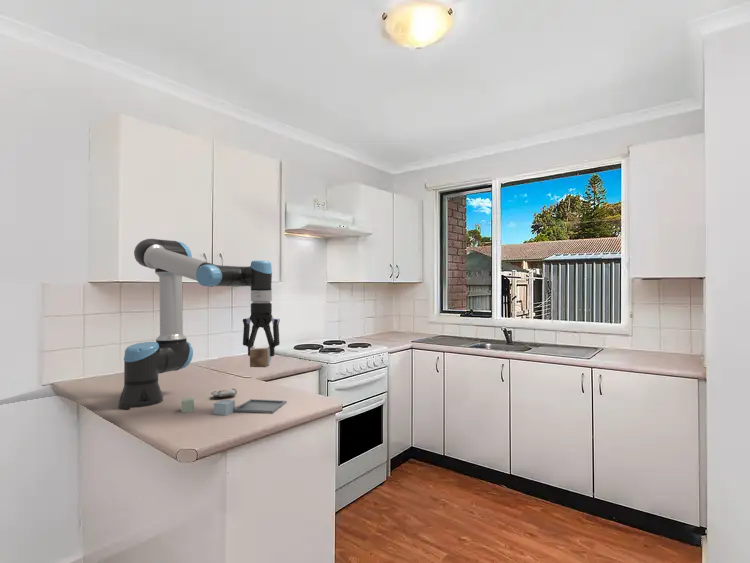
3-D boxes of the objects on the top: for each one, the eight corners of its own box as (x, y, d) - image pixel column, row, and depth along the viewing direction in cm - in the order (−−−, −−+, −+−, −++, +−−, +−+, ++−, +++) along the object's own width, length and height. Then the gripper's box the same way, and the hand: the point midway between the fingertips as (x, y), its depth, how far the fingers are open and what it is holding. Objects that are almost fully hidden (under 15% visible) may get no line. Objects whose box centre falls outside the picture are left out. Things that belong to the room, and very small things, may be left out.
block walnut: (249, 367, 159) (249, 350, 160) (256, 364, 165) (256, 348, 165) (265, 367, 158) (265, 350, 159) (272, 364, 164) (271, 348, 164)
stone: (212, 399, 172) (212, 392, 172) (210, 396, 178) (210, 390, 179) (237, 396, 176) (237, 389, 176) (235, 393, 182) (235, 387, 183)
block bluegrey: (214, 414, 154) (214, 403, 154) (222, 410, 159) (223, 399, 159) (226, 415, 153) (226, 404, 153) (234, 411, 158) (234, 400, 158)
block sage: (181, 412, 156) (181, 401, 156) (182, 409, 160) (182, 398, 160) (193, 411, 158) (193, 400, 158) (194, 408, 162) (194, 397, 162)
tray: (233, 412, 156) (233, 408, 156) (250, 402, 170) (250, 399, 170) (272, 414, 154) (272, 410, 154) (286, 404, 167) (286, 400, 167)
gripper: (232, 302, 160) (232, 366, 160) (281, 302, 157) (281, 367, 157) (241, 301, 167) (241, 362, 167) (289, 302, 164) (289, 363, 164)
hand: (261, 364), depth 162 cm, fingers closed on block walnut, 6 cm apart
